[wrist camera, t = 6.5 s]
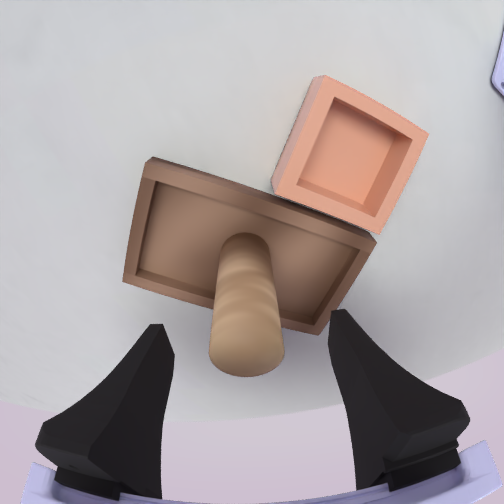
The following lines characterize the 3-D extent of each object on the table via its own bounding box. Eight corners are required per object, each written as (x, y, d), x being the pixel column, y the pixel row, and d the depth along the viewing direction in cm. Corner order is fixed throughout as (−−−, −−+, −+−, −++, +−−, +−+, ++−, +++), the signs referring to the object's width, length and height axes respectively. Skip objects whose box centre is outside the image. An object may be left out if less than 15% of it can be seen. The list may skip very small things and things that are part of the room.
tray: (368, 231, 19) (377, 242, 17) (314, 321, 22) (318, 335, 21) (152, 156, 16) (145, 162, 15) (129, 269, 20) (122, 281, 18)
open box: (407, 127, 15) (429, 134, 13) (364, 217, 18) (379, 234, 16) (313, 77, 14) (325, 74, 12) (270, 180, 17) (274, 193, 15)
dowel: (276, 239, 18) (295, 336, 11) (261, 280, 20) (269, 381, 13) (227, 226, 18) (218, 320, 11) (215, 268, 19) (202, 369, 12)
